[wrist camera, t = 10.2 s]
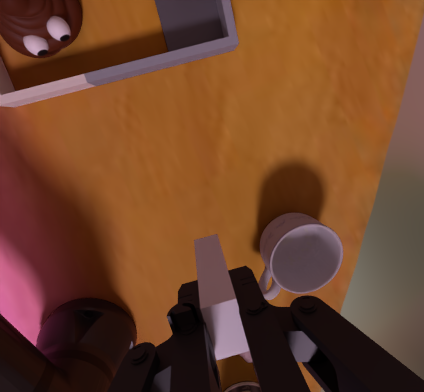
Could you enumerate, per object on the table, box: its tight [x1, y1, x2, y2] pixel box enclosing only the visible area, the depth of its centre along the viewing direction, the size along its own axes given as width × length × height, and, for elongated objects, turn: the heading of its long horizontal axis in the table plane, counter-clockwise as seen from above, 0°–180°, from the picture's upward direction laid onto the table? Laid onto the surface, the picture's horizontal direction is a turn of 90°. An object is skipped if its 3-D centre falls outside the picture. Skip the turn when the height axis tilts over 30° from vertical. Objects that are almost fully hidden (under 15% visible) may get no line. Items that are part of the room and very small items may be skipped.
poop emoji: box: [0, 0, 82, 58], centre depth 29 cm, size 10×8×9 cm
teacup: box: [258, 213, 343, 300], centre depth 41 cm, size 14×11×8 cm
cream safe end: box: [0, 56, 94, 107], centre depth 32 cm, size 11×16×4 cm
